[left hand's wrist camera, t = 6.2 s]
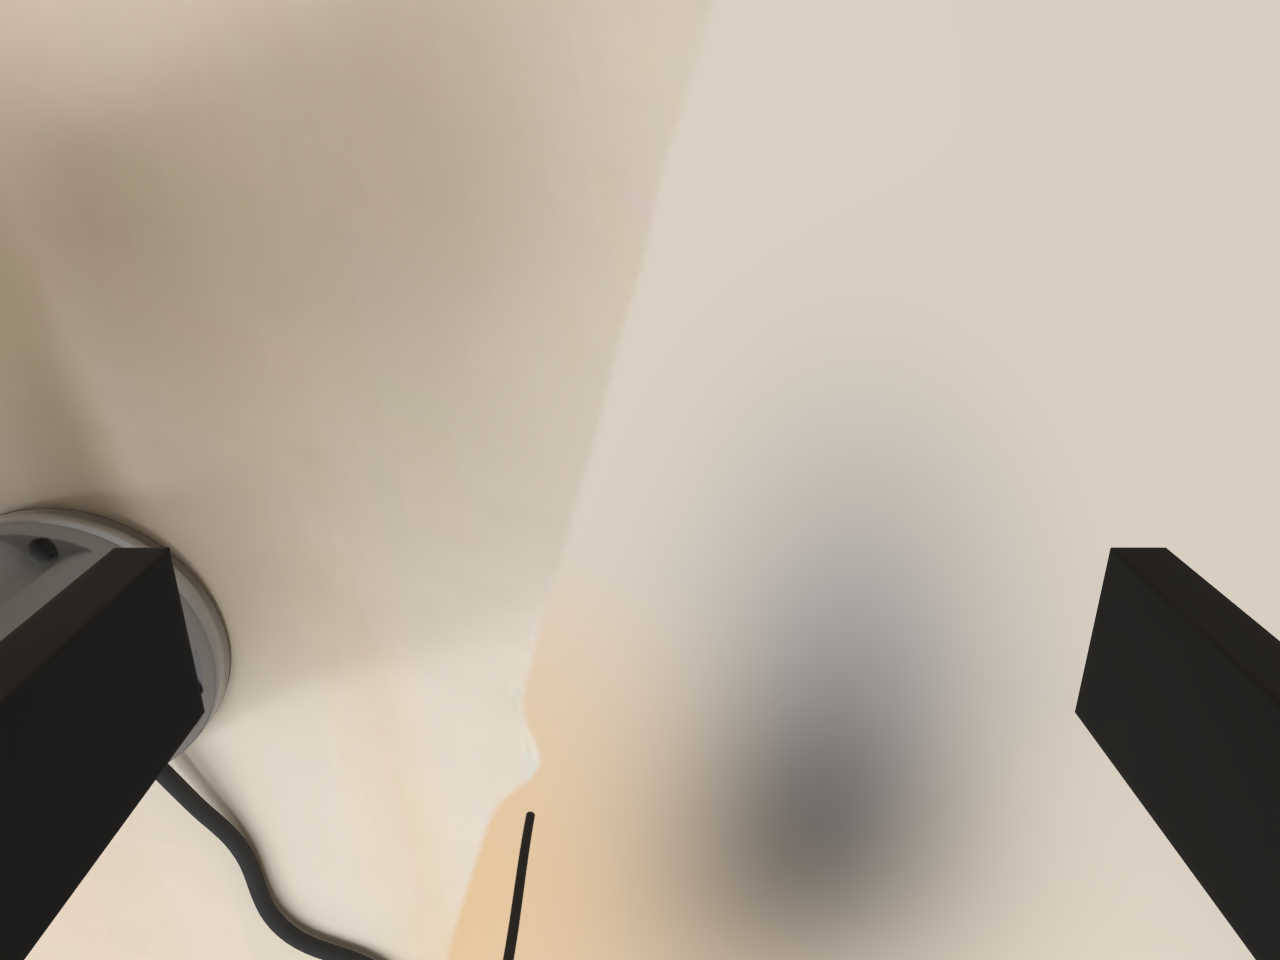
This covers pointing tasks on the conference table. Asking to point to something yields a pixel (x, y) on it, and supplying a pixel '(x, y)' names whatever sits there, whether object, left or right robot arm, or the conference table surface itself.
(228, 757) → the conference table surface
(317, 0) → the conference table surface
